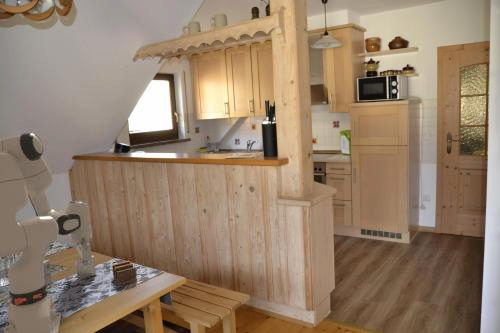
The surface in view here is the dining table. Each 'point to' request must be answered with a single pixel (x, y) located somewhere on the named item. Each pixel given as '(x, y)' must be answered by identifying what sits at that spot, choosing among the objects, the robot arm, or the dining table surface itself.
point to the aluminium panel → (85, 268)
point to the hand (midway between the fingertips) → (85, 264)
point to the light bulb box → (47, 272)
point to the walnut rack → (124, 272)
